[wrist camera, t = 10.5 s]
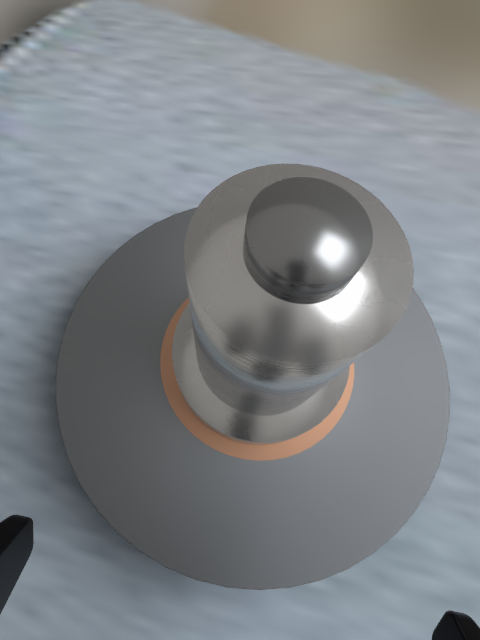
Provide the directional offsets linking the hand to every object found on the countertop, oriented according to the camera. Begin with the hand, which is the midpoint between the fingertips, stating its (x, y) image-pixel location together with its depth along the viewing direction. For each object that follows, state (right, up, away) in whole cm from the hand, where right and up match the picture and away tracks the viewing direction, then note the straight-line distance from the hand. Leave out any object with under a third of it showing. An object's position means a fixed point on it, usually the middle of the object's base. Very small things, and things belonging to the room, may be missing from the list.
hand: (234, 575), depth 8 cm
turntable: (+1, +3, +11) cm, 11 cm away
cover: (+1, +4, +9) cm, 10 cm away
